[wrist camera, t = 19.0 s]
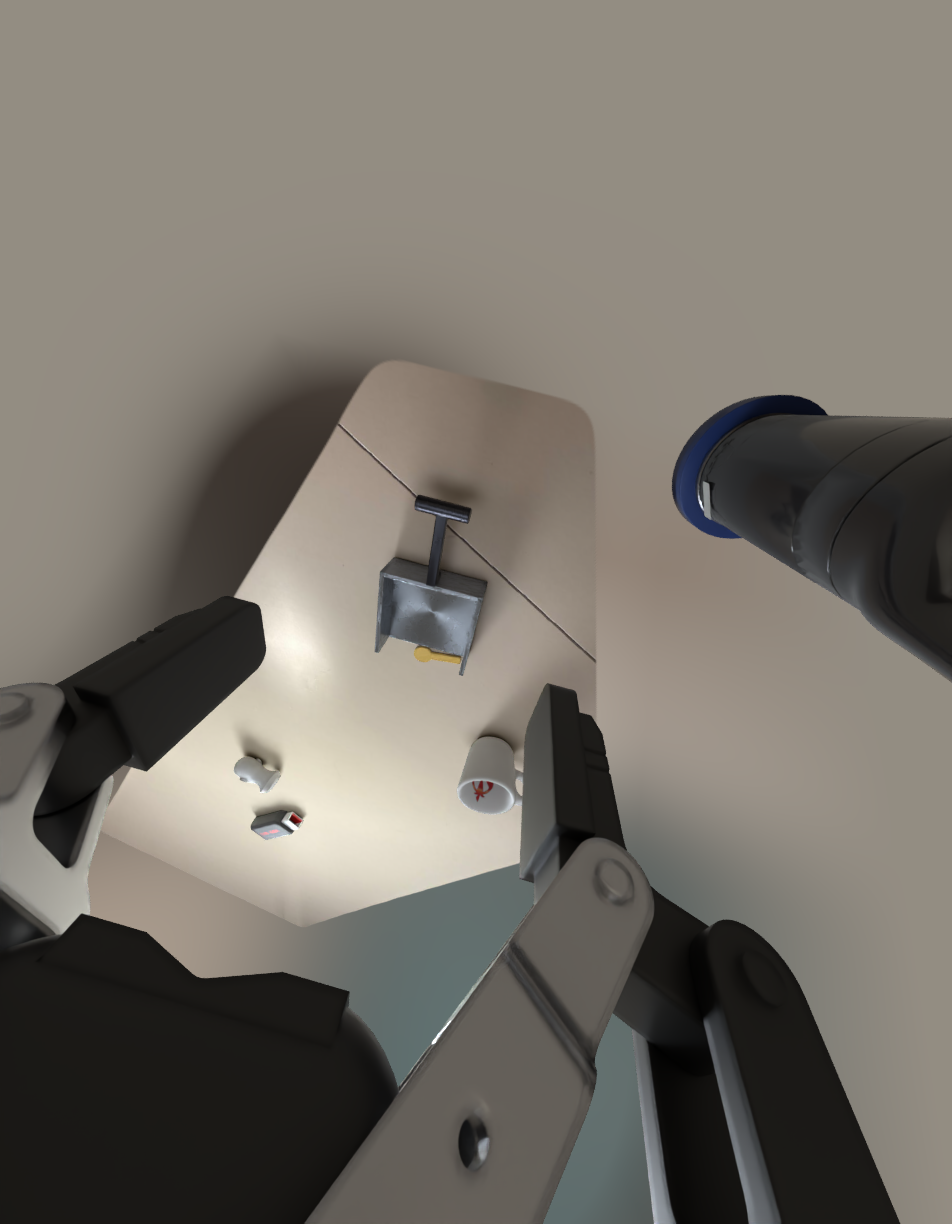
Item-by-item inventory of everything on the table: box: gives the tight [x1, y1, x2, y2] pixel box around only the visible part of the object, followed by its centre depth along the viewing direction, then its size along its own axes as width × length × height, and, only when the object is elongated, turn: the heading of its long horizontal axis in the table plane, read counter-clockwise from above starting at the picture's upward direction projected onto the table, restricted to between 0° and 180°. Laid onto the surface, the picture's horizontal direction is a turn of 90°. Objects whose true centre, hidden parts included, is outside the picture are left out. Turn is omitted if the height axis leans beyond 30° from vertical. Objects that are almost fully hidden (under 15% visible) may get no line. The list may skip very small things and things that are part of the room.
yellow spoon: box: [414, 646, 461, 664], centre depth 45 cm, size 6×2×1 cm, turn 86°
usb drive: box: [251, 811, 304, 840], centre depth 74 cm, size 5×12×3 cm, turn 123°
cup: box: [457, 737, 523, 814], centre depth 50 cm, size 11×8×8 cm
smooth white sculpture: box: [234, 757, 281, 793], centre depth 64 cm, size 4×8×5 cm
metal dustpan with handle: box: [375, 495, 487, 676], centre depth 38 cm, size 11×20×5 cm, turn 168°
